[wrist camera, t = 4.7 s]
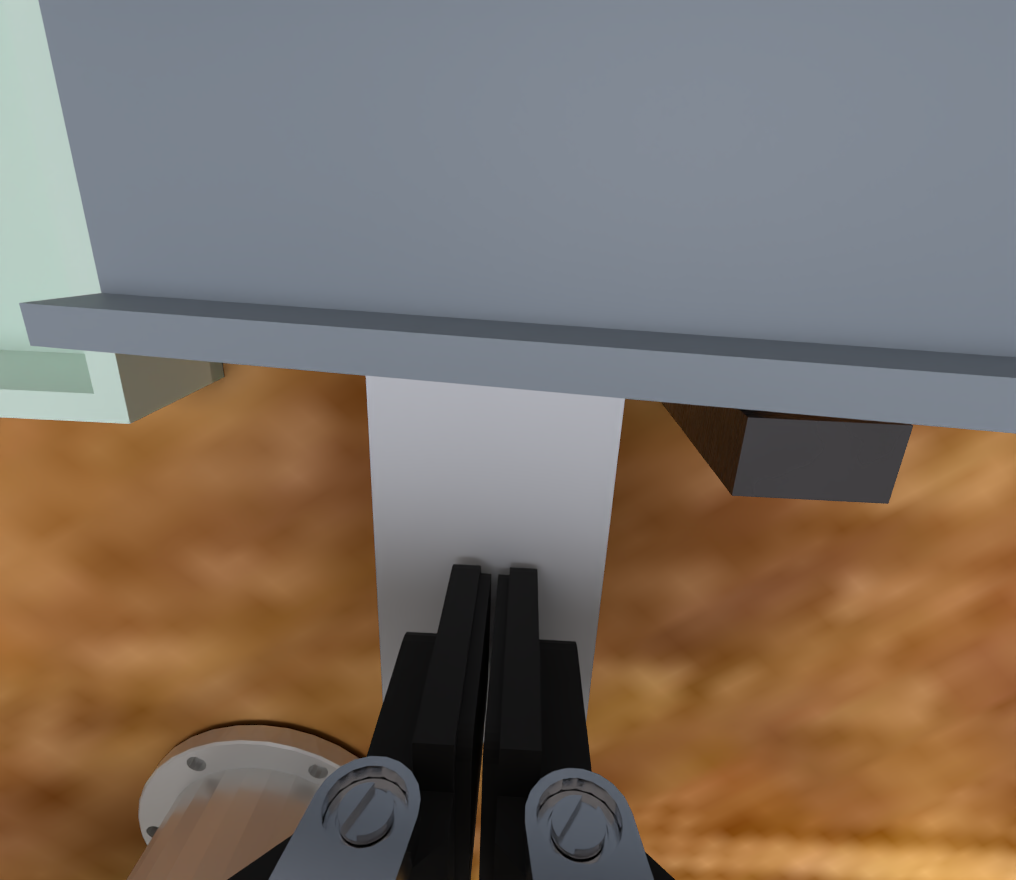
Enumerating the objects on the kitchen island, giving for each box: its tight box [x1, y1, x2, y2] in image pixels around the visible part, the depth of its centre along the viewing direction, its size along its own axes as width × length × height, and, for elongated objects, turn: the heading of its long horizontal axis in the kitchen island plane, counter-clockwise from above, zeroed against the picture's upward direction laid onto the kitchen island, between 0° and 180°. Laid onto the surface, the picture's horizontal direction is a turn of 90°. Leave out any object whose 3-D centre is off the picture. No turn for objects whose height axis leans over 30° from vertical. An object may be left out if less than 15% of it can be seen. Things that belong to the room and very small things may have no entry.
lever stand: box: [662, 402, 913, 504], centre depth 13 cm, size 13×5×9 cm, turn 178°
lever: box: [19, 0, 1016, 743], centre depth 11 cm, size 16×30×5 cm, turn 88°
